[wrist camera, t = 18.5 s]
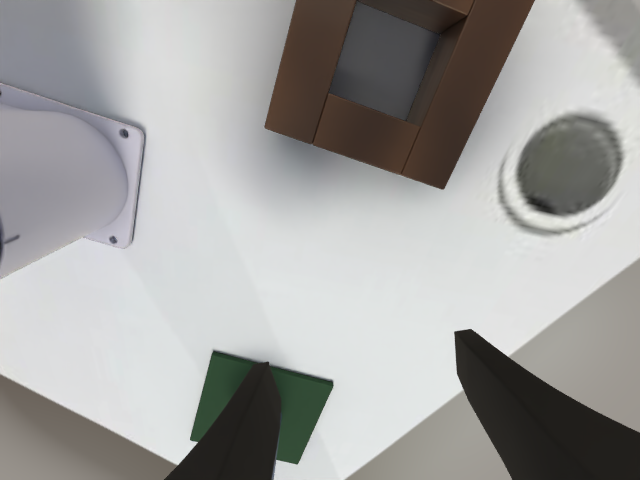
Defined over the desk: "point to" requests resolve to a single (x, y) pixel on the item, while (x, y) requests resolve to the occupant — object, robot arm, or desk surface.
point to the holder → (431, 99)
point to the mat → (296, 402)
